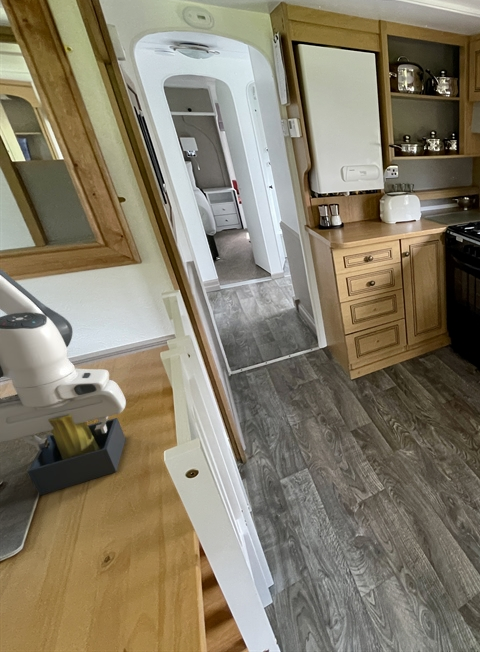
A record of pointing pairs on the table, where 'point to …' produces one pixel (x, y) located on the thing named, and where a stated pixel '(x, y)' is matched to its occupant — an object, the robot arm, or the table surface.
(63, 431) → the vase
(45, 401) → the robot arm
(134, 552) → the table surface
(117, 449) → the bin
